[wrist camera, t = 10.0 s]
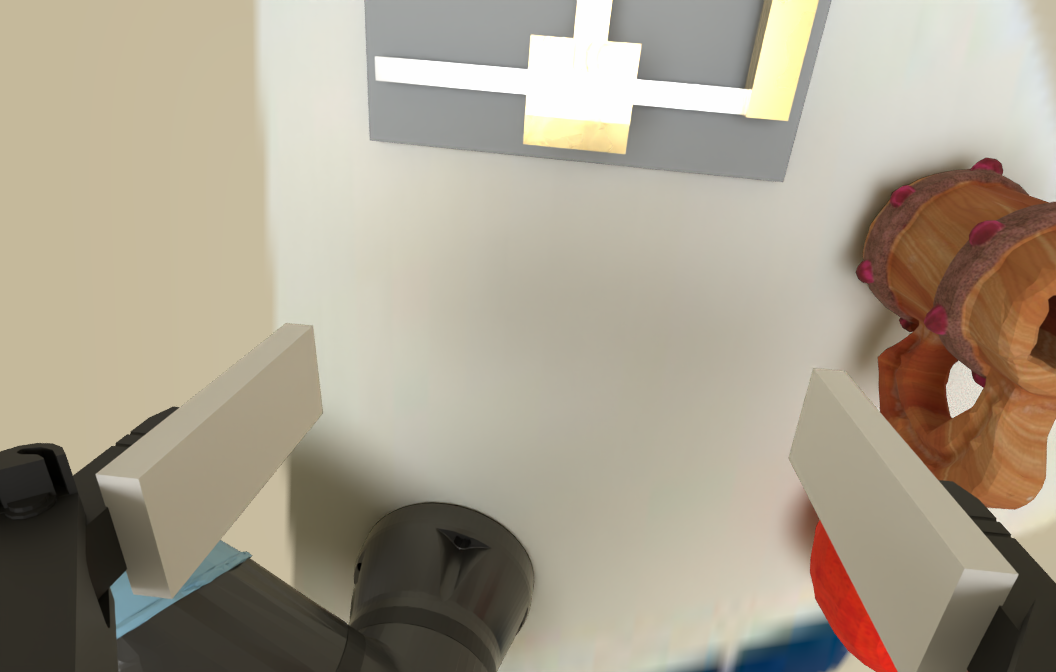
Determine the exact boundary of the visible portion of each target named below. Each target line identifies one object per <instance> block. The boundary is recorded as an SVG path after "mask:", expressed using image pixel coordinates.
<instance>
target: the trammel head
mask: <svg viewBox="0 0 1056 672" xmlns="http://www.w3.org/2000/svg"><path fill="white" fill-rule="evenodd" d="M611 7H612V0H578V1H577V11H576V21H575V31H574V38H562V37H550V36H538V35H531V40H530V54H529V68H528V82H527V96H526V110H525V124H524V138H523V144H527V145H537V146H547V147H557V148H567V149H577V150H587V151H598V152H608V153H618V154H625V153H626V146H627V139H628V133H629V126H630V119H631V112H632V105H633V98H634V91H635V85H636V78H637V71H638V64H639V57H640V50H641V44H633V43H621V42H610V41H607V39H608V31H609V23H610V15H611Z"/></svg>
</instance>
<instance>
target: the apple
mask: <svg viewBox="0 0 1056 672" xmlns="http://www.w3.org/2000/svg"><path fill="white" fill-rule="evenodd" d="M810 574H811V578H812V583H813V587H814V593H815V599H816V601H817V603H818V605H819V606H820V608H821V610H822V612H823V613H824V615H825V617H826V619H827V620H828V622H829V624H830V626H831V627H832V629H833V631H834V633H835V634H836V635H837V637H838V638H839V639H840V641H841V642H842V643H843V644H844V646H845V647H846V648H847V650H848V651H849V652H850V653H852V654H853V655H854V656H855V657H856V658H857V659H859V660H860V661H861V662H862V663H863V664H864V665H866V666H868V667H869V668H871V669H873V670H874V671H876V672H898V671H897V669H896V667H895V666H894V664H893V662H892V660H891V658H890V656H889V654H888V652H887V650H886V648H885V646H884V644H883V642H882V640H881V638H880V636H879V634H878V632H877V630H876V628H875V626H874V624H873V622H872V621H871V619H870V617H869V615H868V613H867V611H866V609H865V607H864V605H863V603H862V601H861V599H860V597H859V595H858V593H857V591H856V589H855V587H854V585H853V583H852V581H851V579H850V577H849V575H848V574H847V572H846V570H845V568H844V566H843V564H842V562H841V560H840V558H839V556H838V554H837V552H836V550H835V548H834V546H833V544H832V542H831V540H830V538H829V536H828V534H827V532H826V530H825V529H824V527H823V525H822V523H821V521H820V520H819V522H818V524H817V526H816V531H815V537H814V543H813V548H812V553H811V561H810Z"/></svg>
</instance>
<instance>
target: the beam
mask: <svg viewBox="0 0 1056 672" xmlns="http://www.w3.org/2000/svg"><path fill="white" fill-rule="evenodd" d="M818 2H819V0H764V3H763V8H762V12H761V17H760V21H759V26H758V30H757V35H756V39H755V44H754V48H753V53H752V57H751V62H750V66H749V71H748V75H747V80H746V84H745V89H744V88H733V87H721V86H710V85H699V84H688V83H677V82H665V81H654V80H643V79H636V85H635V91H634V98H633V104H636V105H647V106H657V107H668V108H679V109H690V110H701V111H711V112H722V113H733V114H740V115H742V116H745V117H750V118H761V119H772V120H782V121H788V118H789V114H790V111H791V107H792V103H793V99H794V95H795V91H796V87H797V83H798V79H799V76H800V72H801V68H802V64H803V60H804V56H805V52H806V48H807V44H808V41H809V37H810V33H811V29H812V25H813V21H814V17H815V13H816V9H817V6H818ZM375 79H376V80H377V81H388V82H398V83H409V84H420V85H431V86H442V87H452V88H463V89H474V90H485V91H496V92H506V93H517V94H527V82H528V69H519V68H508V67H497V66H486V65H475V64H463V63H452V62H441V61H430V60H418V59H407V58H398V57H387V56H375Z"/></svg>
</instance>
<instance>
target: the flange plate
mask: <svg viewBox="0 0 1056 672" xmlns="http://www.w3.org/2000/svg"><path fill="white" fill-rule="evenodd" d="M577 1H578V0H364V2H365V28H366V54H367V80H368V105H369V131H370V140H372V141H382V142H392V143H401V144H411V145H421V146H431V147H441V148H451V149H461V150H471V151H480V152H490V153H500V154H510V155H520V156H530V157H540V158H550V159H559V160H569V161H579V162H589V163H599V164H609V165H619V166H628V167H638V168H648V169H658V170H668V171H678V172H688V173H698V174H707V175H717V176H727V177H737V178H747V179H757V180H767V181H777V182H783V181H784V177H785V174H786V170H787V166H788V162H789V158H790V155H791V151H792V147H793V143H794V140H795V136H796V132H797V128H798V125H799V121H800V117H801V113H802V109H803V106H804V102H805V98H806V94H807V91H808V87H809V83H810V79H811V76H812V72H813V68H814V64H815V61H816V57H817V53H818V49H819V45H820V42H821V38H822V34H823V30H824V27H825V23H826V19H827V15H828V12H829V8H830V4H831V0H819V2H818V6H817V9H816V13H815V17H814V21H813V25H812V29H811V33H810V37H809V41H808V44H807V48H806V52H805V56H804V60H803V64H802V68H801V72H800V76H799V79H798V83H797V87H796V91H795V95H794V99H793V103H792V107H791V111H790V114H789V118H788V121H782V120H772V119H761V118H750V117H745V116H742V115H740V114H733V113H722V112H711V111H701V110H690V109H679V108H668V107H657V106H647V105H636V104H633V105H632V112H631V119H630V126H629V133H628V139H627V146H626V153H625V154H618V153H608V152H598V151H587V150H577V149H567V148H557V147H547V146H537V145H527V144H523V138H524V124H525V110H526V96H527V94H517V93H506V92H496V91H485V90H474V89H463V88H452V87H442V86H431V85H420V84H409V83H398V82H388V81H377V80H376V79H375V56H387V57H398V58H407V59H418V60H430V61H441V62H452V63H463V64H475V65H486V66H497V67H508V68H519V69H528V68H529V54H530V40H531V35H538V36H550V37H562V38H574V31H575V21H576V11H577ZM763 3H764V0H612V7H611V15H610V23H609V31H608V39H607V41H610V42H621V43H633V44H641V50H640V57H639V64H638V71H637V78H636V79H643V80H654V81H665V82H677V83H688V84H699V85H710V86H721V87H733V88H744V89H745V84H746V80H747V75H748V71H749V66H750V62H751V57H752V53H753V48H754V44H755V39H756V35H757V30H758V26H759V21H760V17H761V12H762V8H763Z"/></svg>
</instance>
